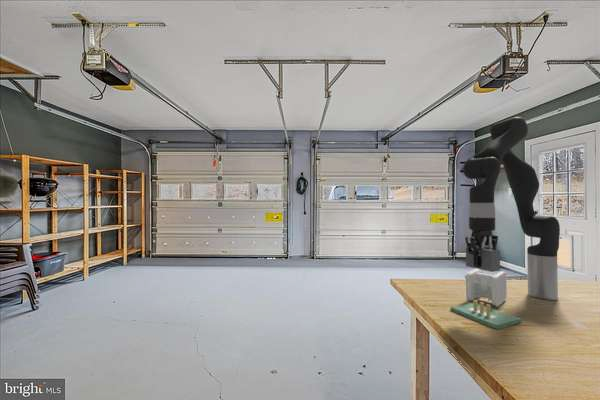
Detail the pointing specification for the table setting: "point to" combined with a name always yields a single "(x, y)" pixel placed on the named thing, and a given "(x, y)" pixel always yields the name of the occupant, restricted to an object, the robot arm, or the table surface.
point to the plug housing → (485, 260)
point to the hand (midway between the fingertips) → (482, 265)
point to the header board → (486, 314)
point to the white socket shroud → (486, 286)
